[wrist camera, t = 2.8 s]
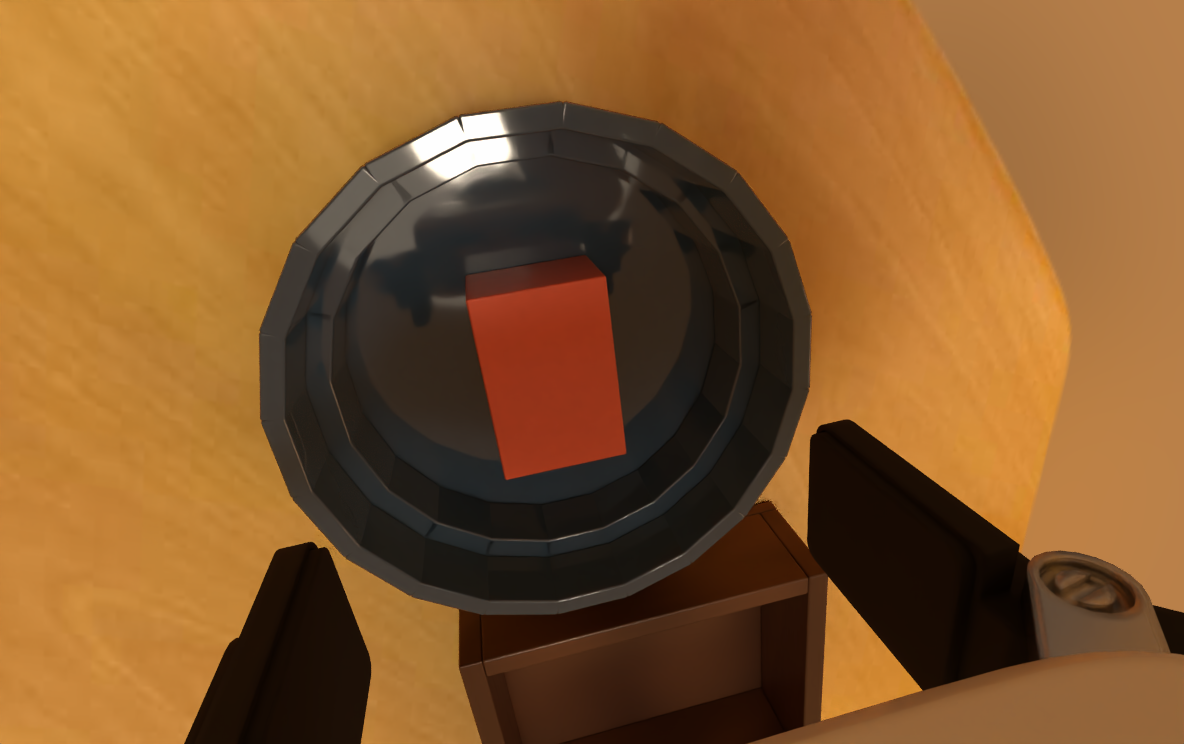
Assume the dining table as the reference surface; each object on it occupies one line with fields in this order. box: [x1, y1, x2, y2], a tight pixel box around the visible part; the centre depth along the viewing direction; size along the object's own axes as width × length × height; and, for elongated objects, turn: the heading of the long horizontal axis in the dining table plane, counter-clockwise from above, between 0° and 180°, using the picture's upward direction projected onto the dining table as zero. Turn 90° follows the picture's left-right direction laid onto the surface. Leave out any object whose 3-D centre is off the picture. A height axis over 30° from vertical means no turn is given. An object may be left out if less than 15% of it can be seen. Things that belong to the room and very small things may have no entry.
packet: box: [465, 255, 626, 480], centre depth 19 cm, size 4×6×3 cm, turn 7°
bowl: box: [259, 101, 812, 615], centre depth 19 cm, size 15×15×5 cm
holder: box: [459, 502, 828, 744], centre depth 25 cm, size 14×12×5 cm
